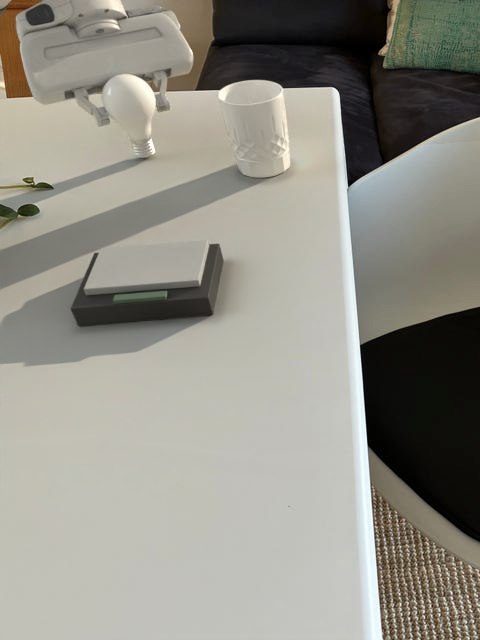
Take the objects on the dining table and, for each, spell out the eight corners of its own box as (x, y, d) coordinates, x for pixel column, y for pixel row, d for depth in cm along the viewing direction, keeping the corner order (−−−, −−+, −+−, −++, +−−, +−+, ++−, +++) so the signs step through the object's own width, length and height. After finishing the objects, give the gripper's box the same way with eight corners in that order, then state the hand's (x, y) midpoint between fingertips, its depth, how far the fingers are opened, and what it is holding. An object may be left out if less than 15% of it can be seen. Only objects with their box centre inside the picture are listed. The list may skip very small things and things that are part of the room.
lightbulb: (179, 148, 106) (157, 68, 99) (156, 170, 102) (132, 87, 94) (136, 145, 107) (111, 65, 100) (111, 166, 102) (84, 83, 95)
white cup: (257, 186, 98) (241, 110, 92) (222, 167, 102) (204, 92, 96) (307, 165, 103) (295, 91, 96) (271, 147, 107) (258, 74, 100)
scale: (78, 326, 77) (67, 302, 75) (100, 269, 84) (91, 246, 82) (213, 315, 78) (206, 290, 76) (223, 260, 86) (217, 236, 84)
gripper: (168, 16, 107) (210, 108, 108) (8, 46, 98) (54, 146, 99) (171, -11, 102) (214, 87, 102) (0, 18, 93) (49, 125, 93)
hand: (134, 116), depth 100 cm, fingers closed on lightbulb, 6 cm apart
